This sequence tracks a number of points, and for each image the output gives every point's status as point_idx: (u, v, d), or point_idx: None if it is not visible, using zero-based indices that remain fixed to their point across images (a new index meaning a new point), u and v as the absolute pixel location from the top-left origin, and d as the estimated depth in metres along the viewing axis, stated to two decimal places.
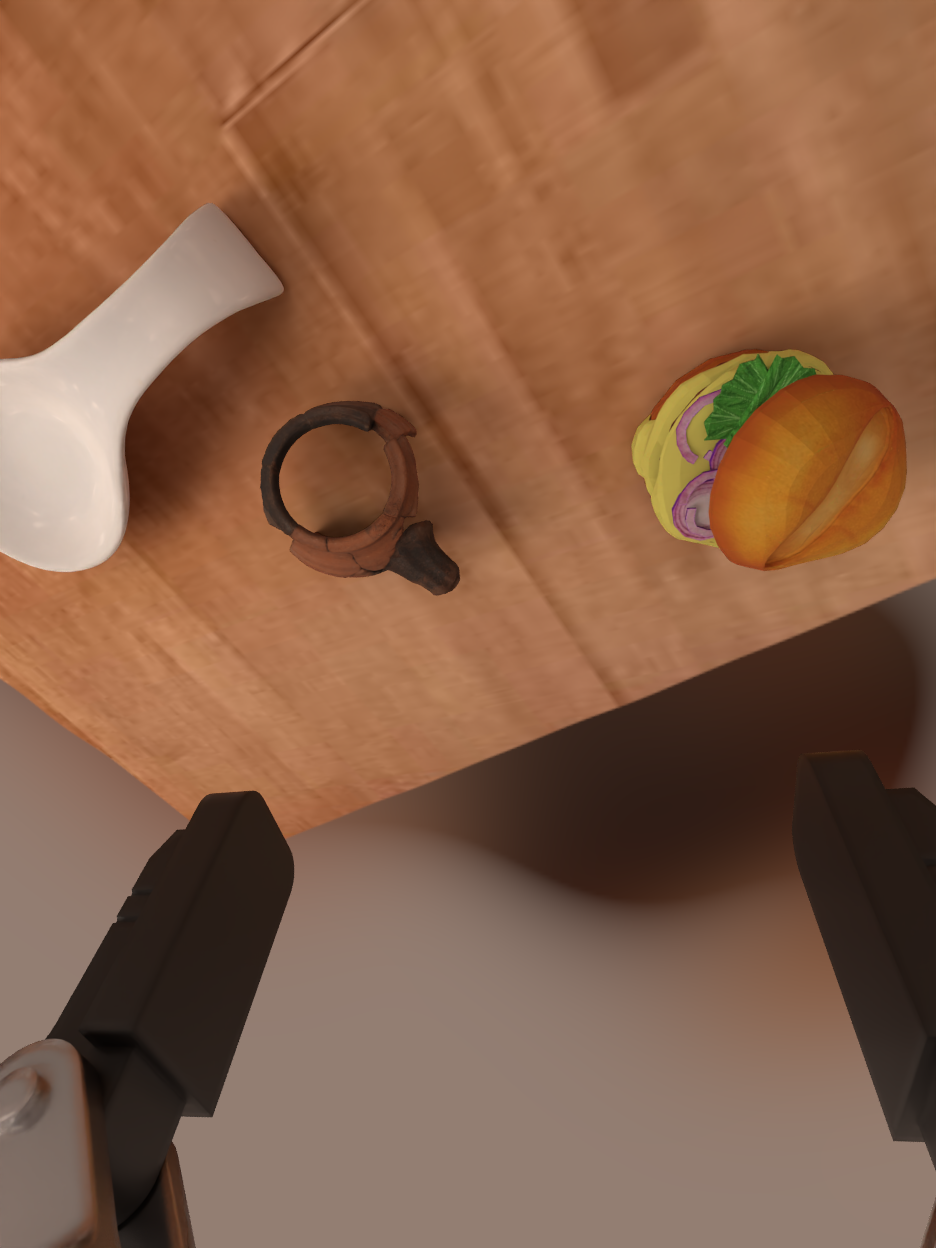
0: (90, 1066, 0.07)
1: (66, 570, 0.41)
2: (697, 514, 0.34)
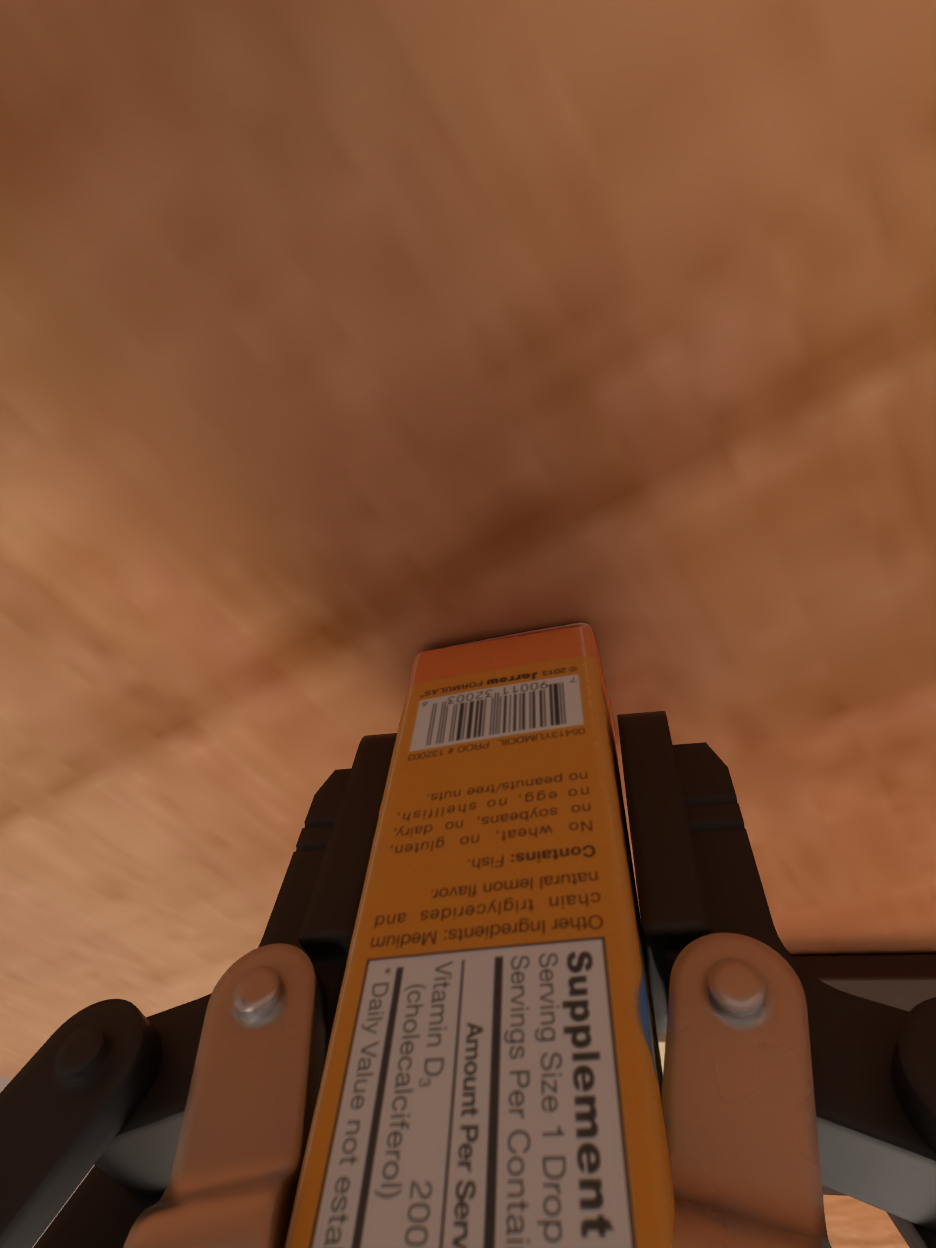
0: None
1: None
2: None
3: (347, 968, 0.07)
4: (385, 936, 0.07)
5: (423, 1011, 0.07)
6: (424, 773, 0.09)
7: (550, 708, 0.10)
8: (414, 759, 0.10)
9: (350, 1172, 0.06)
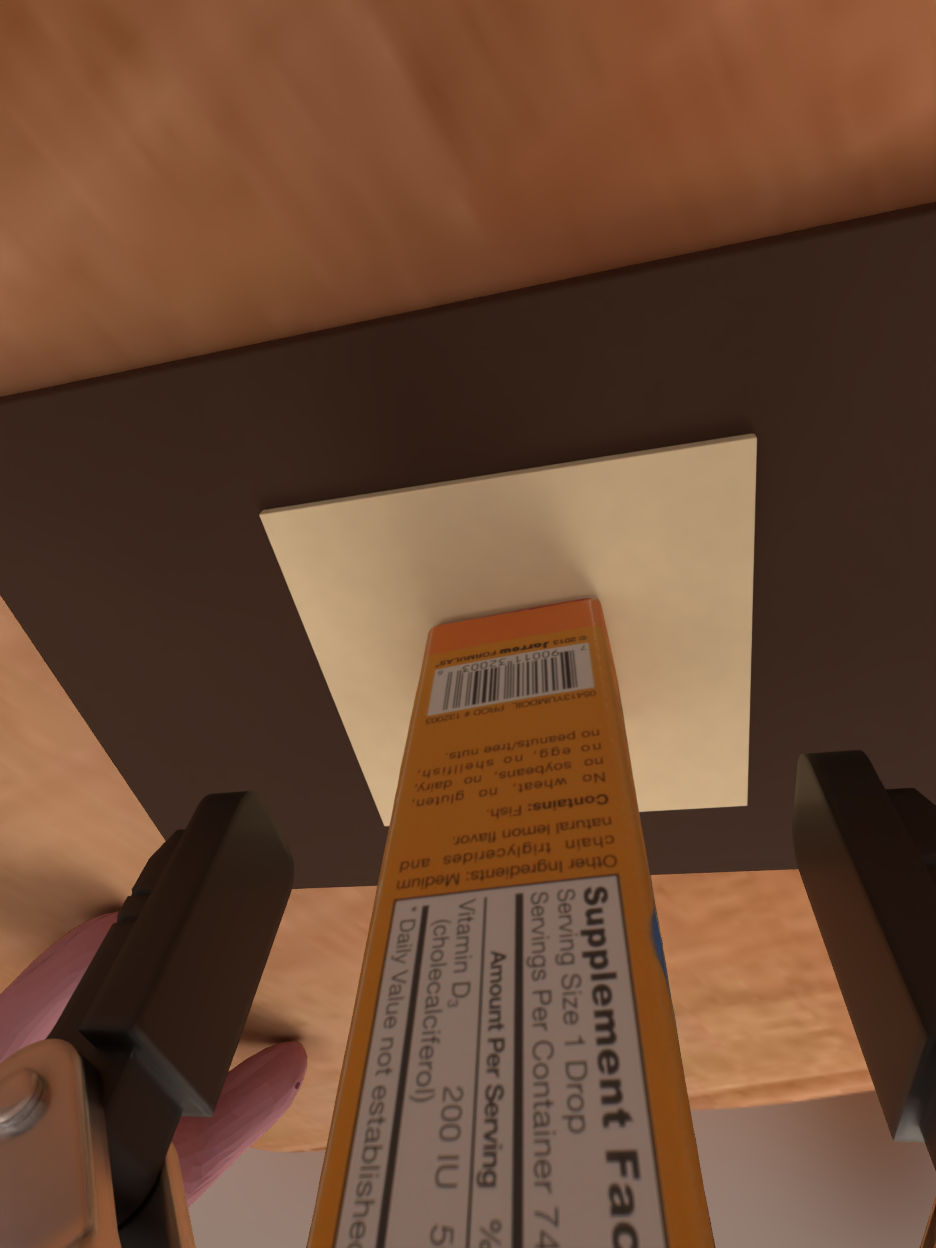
0: (90, 1066, 0.07)
1: None
2: None
3: (375, 908, 0.08)
4: (410, 879, 0.08)
5: (450, 941, 0.07)
6: (443, 735, 0.10)
7: (562, 674, 0.10)
8: (432, 722, 0.10)
9: (386, 1080, 0.06)
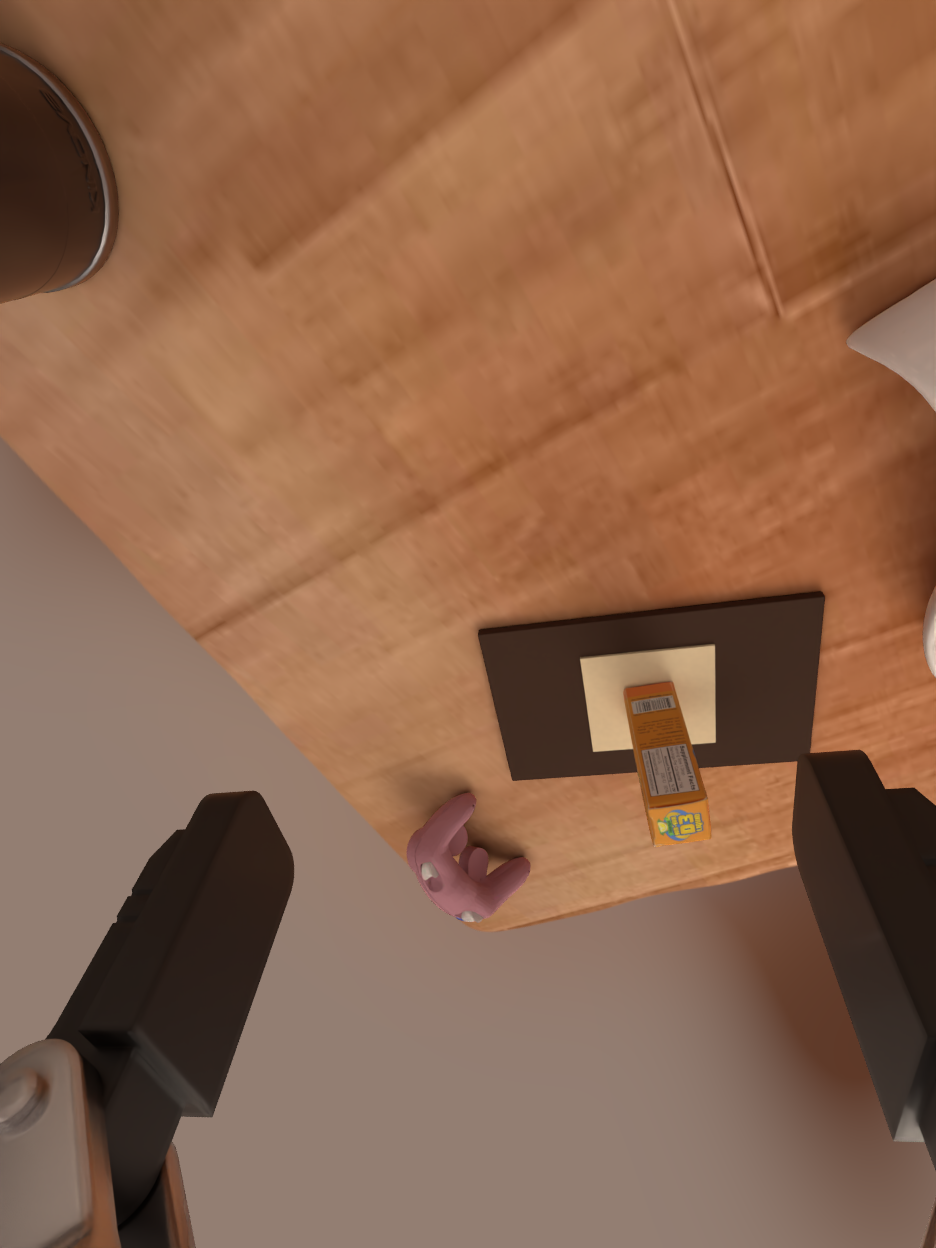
0: (90, 1066, 0.07)
1: None
2: None
3: (636, 752, 0.38)
4: (643, 746, 0.39)
5: (655, 755, 0.38)
6: (639, 718, 0.40)
7: (667, 703, 0.41)
8: (635, 715, 0.41)
9: (650, 773, 0.37)
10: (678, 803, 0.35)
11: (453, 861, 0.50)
